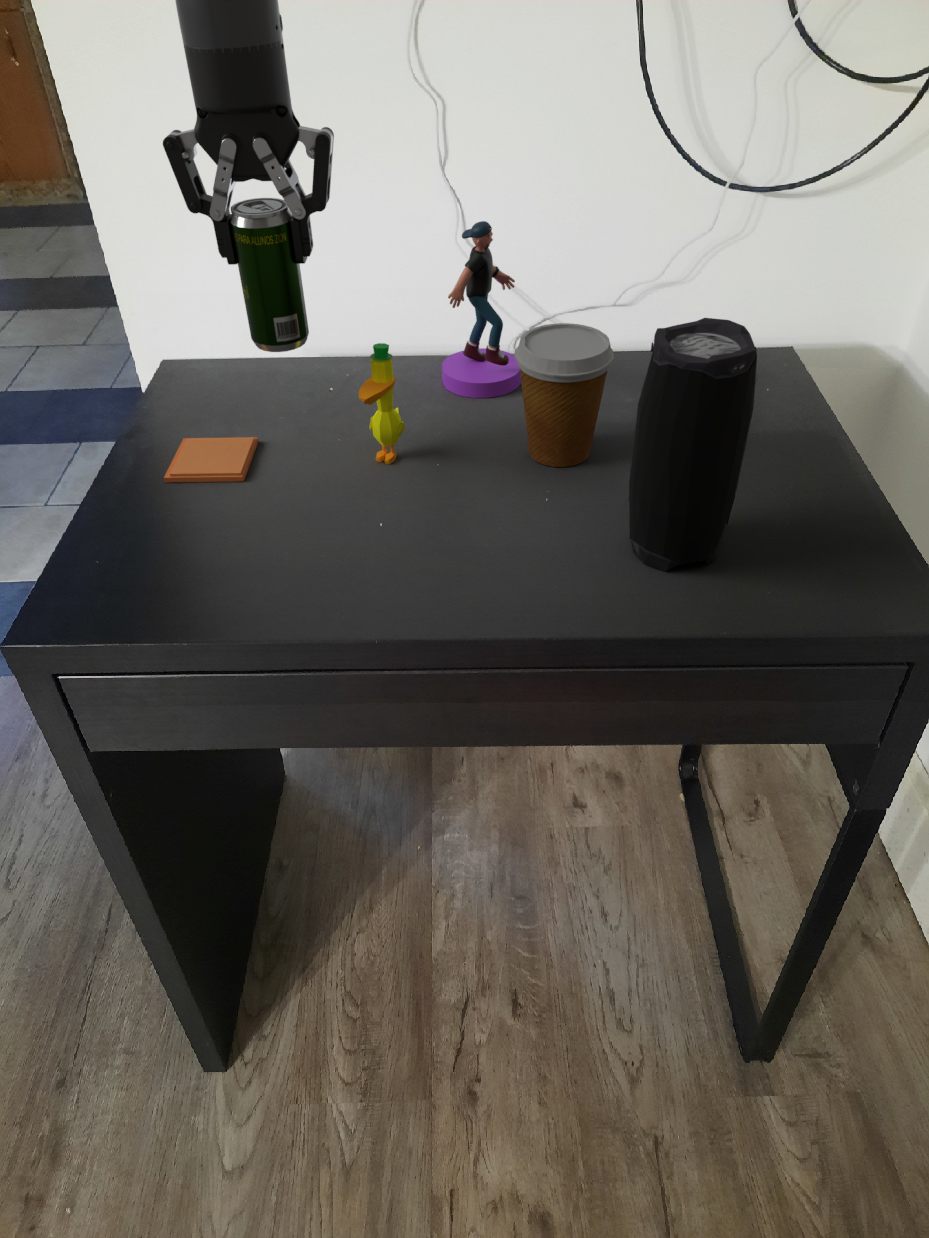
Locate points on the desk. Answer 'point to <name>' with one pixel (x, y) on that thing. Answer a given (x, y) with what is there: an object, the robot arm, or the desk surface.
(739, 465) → the portable speaker
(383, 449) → the toy figure
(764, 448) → the desk surface
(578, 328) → the disposable coffee cup
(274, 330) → the beer can
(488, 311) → the figurine
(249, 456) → the orange square panel
